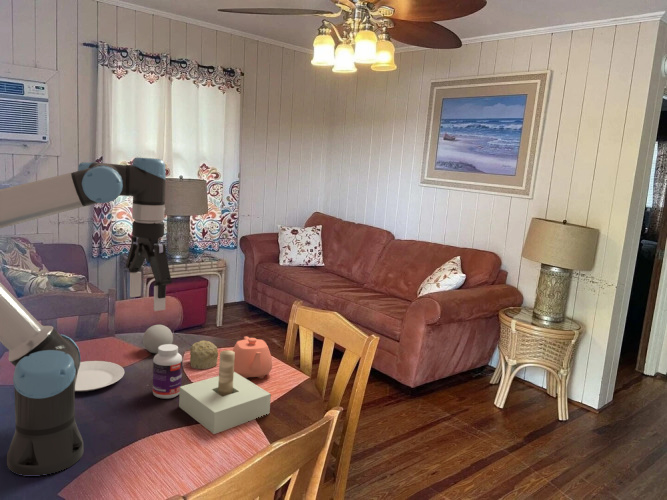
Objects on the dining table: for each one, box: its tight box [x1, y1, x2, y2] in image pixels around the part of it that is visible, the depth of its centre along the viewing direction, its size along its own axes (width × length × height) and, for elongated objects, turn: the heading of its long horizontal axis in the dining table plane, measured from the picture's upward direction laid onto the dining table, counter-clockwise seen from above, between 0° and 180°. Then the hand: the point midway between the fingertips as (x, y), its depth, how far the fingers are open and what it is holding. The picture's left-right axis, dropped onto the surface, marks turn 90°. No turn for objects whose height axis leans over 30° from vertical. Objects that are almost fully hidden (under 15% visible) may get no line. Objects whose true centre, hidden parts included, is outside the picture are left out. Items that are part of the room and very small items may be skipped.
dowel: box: [218, 350, 235, 397], centre depth 143 cm, size 4×4×16 cm
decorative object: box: [189, 339, 219, 370], centre depth 173 cm, size 9×10×10 cm
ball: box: [142, 324, 174, 355], centre depth 179 cm, size 10×10×10 cm
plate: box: [75, 360, 125, 392], centre depth 154 cm, size 21×21×2 cm
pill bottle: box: [152, 343, 183, 400], centre depth 150 cm, size 8×8×14 cm
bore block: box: [178, 372, 272, 435], centre depth 144 cm, size 18×18×6 cm
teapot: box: [232, 335, 273, 380], centre depth 167 cm, size 13×20×12 cm, turn 22°
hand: (146, 303), depth 131 cm, fingers open, 13 cm apart
